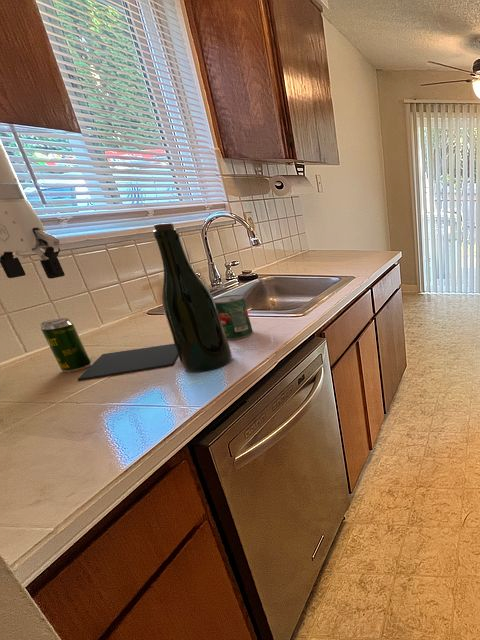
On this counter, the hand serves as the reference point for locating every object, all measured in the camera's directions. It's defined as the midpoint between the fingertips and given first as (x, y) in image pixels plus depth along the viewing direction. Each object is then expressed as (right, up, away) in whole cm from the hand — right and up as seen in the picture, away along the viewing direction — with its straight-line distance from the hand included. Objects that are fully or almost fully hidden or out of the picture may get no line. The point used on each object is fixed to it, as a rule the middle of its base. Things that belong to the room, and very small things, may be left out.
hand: (36, 277), depth 89 cm
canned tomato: (+28, -11, +28) cm, 41 cm away
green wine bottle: (+32, -20, +9) cm, 39 cm away
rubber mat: (+12, -19, +12) cm, 25 cm away
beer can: (+1, -21, +8) cm, 22 cm away
